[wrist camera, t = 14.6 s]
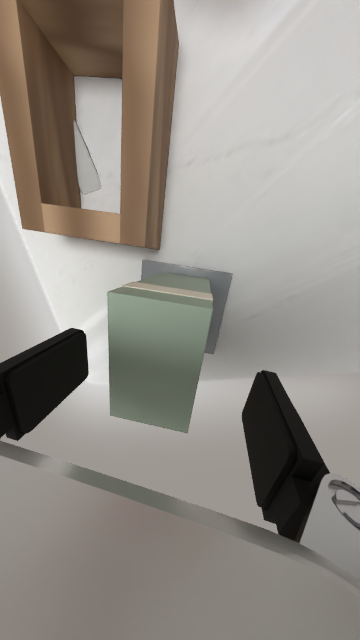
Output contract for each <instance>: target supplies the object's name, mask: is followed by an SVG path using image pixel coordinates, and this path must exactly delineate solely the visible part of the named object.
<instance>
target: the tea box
mask: <svg viewBox="0 0 360 640" xmlns="http://www.w3.org/2000/svg"><path fill="white" fill-rule="evenodd" d="M107 295H108V340H109V385H110V416H115V417H119V418H123V419H128V420H132V421H136V422H141V423H145V424H149V425H154V426H158V427H162V428H167V429H171V430H175V431H180V432H184V433H188V428H189V423H190V418H191V414H192V408H193V404H194V399H195V394H196V389H197V384H198V380H199V375H200V370H201V365H202V360H203V355H204V350H205V345H206V340H207V335H208V331H209V326H210V321H211V316H212V311H213V306H212V302H213V297H212V294H211V290H210V282H209V279H208V278H201V277H194V276H187V275H181V274H174V273H167V272H164V273H161V274H158V275H155V276H152V277H149V278H146V279H143V280H140V281H138V282H131V283H128V284H125V285H123V287H120V288H117V289H114V290H111V291H109V292H107Z"/></svg>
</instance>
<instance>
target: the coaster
mask: <svg viewBox="0 0 360 640" xmlns="http://www.w3.org/2000/svg"><path fill="white" fill-rule="evenodd" d="M164 272H167V273H174V274H181V275H187V276H194V277H201V278H208V279H209V282H210V290H211V294H212V297H213V302H212V306H213V311H212V316H211V321H210V326H209V331H208V335H207V340H206V345H205V350H204V352H205V353H210V354H213V353H214V349H215V345H216V341H217V337H218V332H219V328H220V324H221V320H222V316H223V312H224V308H225V304H226V300H227V295H228V291H229V287H230V283H231V279H232V275H233V274H232V273H226V272H219V271H213V270H207V269H200V268H194V267H188V266H181V265H175V264H169V263H162V262H156V261H149V260H142V275H141V280H143V279H146V278H149V277H152V276H155V275H158V274H161V273H164Z"/></svg>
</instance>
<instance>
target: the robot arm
mask: <svg viewBox="0 0 360 640" xmlns="http://www.w3.org/2000/svg"><path fill="white" fill-rule="evenodd" d="M87 376H88V357H87V342H86V334H85V333H84V332H83V331H82V330H79V329H75V328H70V329H68V330H66V331H64V332H62V333H60V334H58V335H56V336H54V337H52V338H50V339H48V340H46V341H44V342H42V343H40V344H38V345H36V346H34V347H32V348H30V349H28V350H26V351H24V352H22V353H20V354H18V355H16V356H14V357H12V358H10V359H8V360H6V361H4V362H2V363H0V438H1V437H2V436H3V435H4V434H5V433H6V436H7V438H11V439H14V440H17V441H18V440H19V439H20V438H21V437H22V436H23V435H24V434H26V433H29V432H30V431H32V430H33V429H34V428H35V427H36V426H37V425H38V424H39V423H40V422H41V421H42V420H43V419H44V418H45V417H46V416H47V415H48V414H49V413H51V412H52V411H53V410H54V408H56V407H57V406H58V405H59V404H60V403H61V402H62V401H63V400H64V399H65V398H66V397H67V396H68V395H69V394H70V393H72V391H74V390H75V389H76V388H77V387H78V386H79V385H80V384H81V383H82V382H83V381H84V380H85V379H86V378H87ZM242 422H243V427H244V433H245V439H246V444H247V450H248V456H249V462H250V468H251V474H252V479H253V485H254V491H255V496H256V501H257V505H258V506H259V507H262V512H263V517H264V520H266V521H269V522H272V523H275V524H276V525H277V530H278V534H279V535H278V534H276V533H273V532H271V531H269V530H266V529H264V528H261V527H258V526H255V525H252V524H250V523H247V522H244V521H241V520H238V519H236V518H232V517H230V516H227V515H224V514H222V513H219V512H216V511H213V510H210V509H207V508H204V507H201V506H198V505H195V504H192V503H189V502H186V501H183V500H180V499H177V498H174V497H171V496H168V495H165V494H162V493H159V492H156V491H153V490H150V489H147V488H144V487H141V486H138V485H135V484H132V483H129V482H126V481H123V480H120V479H117V478H114V477H110V476H107V475H105V474H102V473H98V472H95V471H92V470H89V469H86V468H83V467H80V466H77V465H74V464H71V463H68V462H65V461H62V460H59V459H55V458H52V457H49V456H46V455H43V454H40V453H37V452H34V451H31V450H27V449H24V448H21V447H18V446H15V445H12V444H9V443H5V442H2V441H0V640H360V488H359V487H358V486H357V485H355V484H354V483H352V482H351V481H349V480H348V479H346V478H343V477H342V476H340V475H336V474H330V472H329V470H328V469H327V467H326V465H325V463H324V462H323V459H322V458H321V456H320V454H319V452H318V450H317V448H316V446H315V444H314V443H313V441H312V439H311V437H310V435H309V433H308V431H307V429H306V428H305V426H304V424H303V422H302V420H301V418H300V416H299V415H298V413H297V411H296V409H295V408H294V406H293V404H292V403H291V401H290V399H289V397H288V395H287V393H286V391H285V390H284V388H283V386H282V384H281V382H280V380H279V378H278V376H277V374H276V373H274V372H269V371H264V370H262V371H261V373H260V372H258V373H257V374H256V377H255V379H254V382H253V385H252V387H251V391H250V393H249V396H248V398H247V401H246V404H245V407H244V409H243V412H242Z"/></svg>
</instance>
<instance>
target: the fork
mask: <svg viewBox="0 0 360 640" xmlns="http://www.w3.org/2000/svg"><path fill="white" fill-rule="evenodd" d="M74 136H75V151H76V164H77V176H78V183H79V187H80V190H81V192H82V193H83V194H84V195H85V194H88V193H91V192H94V191H97V190H99V189H100V187H101V183H100V180H99V177H98V175H97V172H96V169H95V167H94V164H93V162H92V160H91V157H90V155H89V153H88V150H87V148H86V145H85V143H84V141H83V138H82V136H81V134H80V132H79V129H78V127H77V125H76V122H75V120H74Z"/></svg>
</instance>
